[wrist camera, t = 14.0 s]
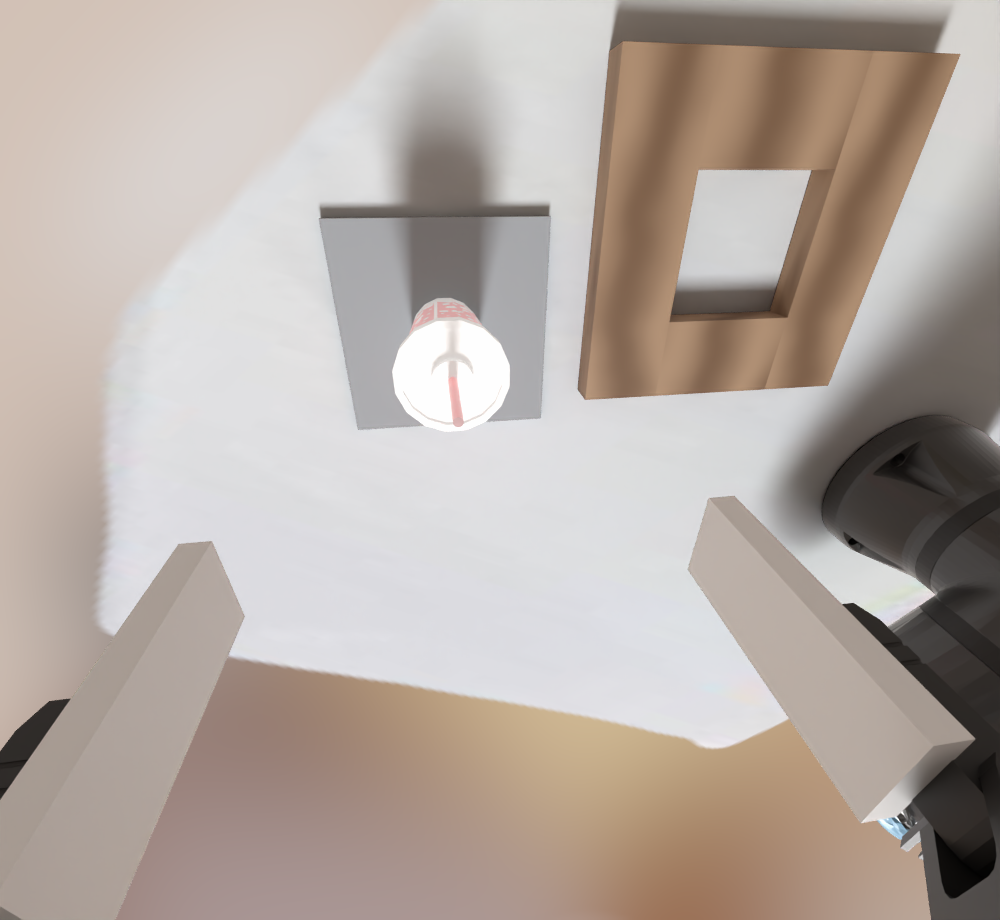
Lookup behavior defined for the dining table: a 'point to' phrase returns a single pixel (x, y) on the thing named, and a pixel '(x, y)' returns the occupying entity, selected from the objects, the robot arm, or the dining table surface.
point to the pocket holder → (745, 146)
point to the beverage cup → (450, 368)
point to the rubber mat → (425, 277)
